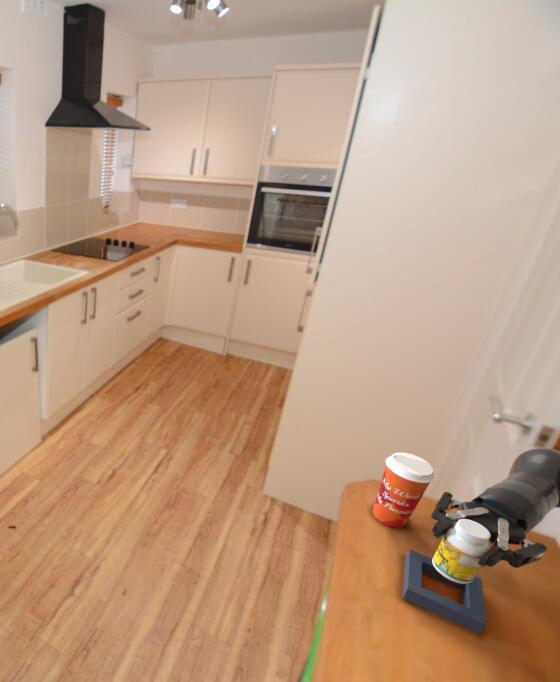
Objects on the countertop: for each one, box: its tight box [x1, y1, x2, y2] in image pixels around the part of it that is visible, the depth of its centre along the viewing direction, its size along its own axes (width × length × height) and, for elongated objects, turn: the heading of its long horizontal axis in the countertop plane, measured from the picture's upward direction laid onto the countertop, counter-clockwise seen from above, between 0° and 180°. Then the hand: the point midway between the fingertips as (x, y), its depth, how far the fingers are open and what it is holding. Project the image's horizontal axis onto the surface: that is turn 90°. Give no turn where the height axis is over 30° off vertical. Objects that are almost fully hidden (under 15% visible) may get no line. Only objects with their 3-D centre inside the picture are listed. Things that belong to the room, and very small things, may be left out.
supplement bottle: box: [432, 519, 491, 584], centre depth 74 cm, size 5×5×10 cm
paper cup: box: [372, 451, 437, 529], centre depth 90 cm, size 8×8×14 cm
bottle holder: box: [402, 549, 487, 635], centre depth 78 cm, size 10×10×2 cm
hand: (459, 546), depth 72 cm, fingers closed on supplement bottle, 5 cm apart
